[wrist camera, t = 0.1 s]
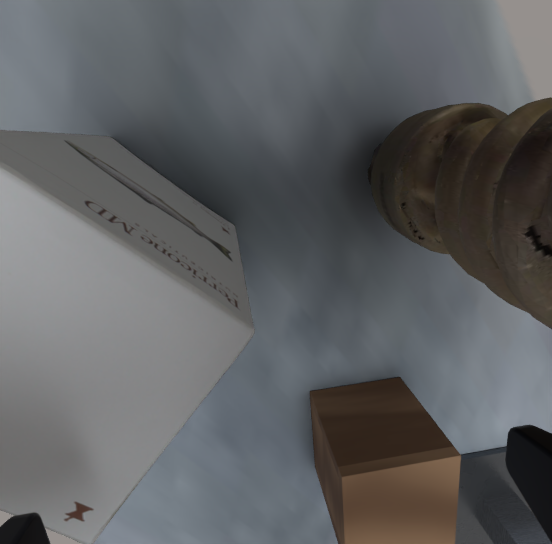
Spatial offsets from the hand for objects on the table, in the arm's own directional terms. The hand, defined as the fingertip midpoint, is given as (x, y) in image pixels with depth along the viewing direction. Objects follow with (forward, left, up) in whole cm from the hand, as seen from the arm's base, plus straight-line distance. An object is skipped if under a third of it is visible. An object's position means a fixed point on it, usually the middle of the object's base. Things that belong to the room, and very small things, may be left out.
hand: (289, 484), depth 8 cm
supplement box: (+2, +5, -15) cm, 16 cm away
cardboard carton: (-11, -6, -14) cm, 19 cm away
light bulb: (+4, -8, -15) cm, 17 cm away
